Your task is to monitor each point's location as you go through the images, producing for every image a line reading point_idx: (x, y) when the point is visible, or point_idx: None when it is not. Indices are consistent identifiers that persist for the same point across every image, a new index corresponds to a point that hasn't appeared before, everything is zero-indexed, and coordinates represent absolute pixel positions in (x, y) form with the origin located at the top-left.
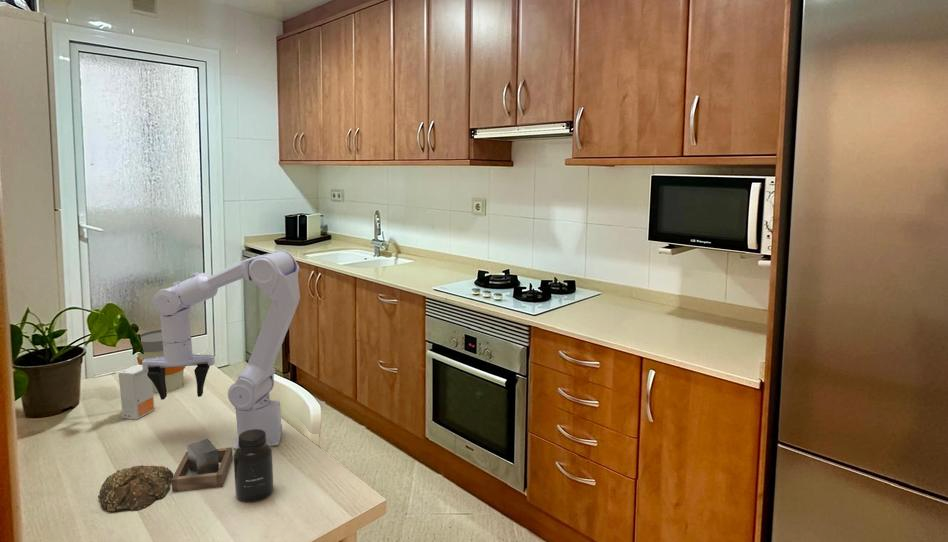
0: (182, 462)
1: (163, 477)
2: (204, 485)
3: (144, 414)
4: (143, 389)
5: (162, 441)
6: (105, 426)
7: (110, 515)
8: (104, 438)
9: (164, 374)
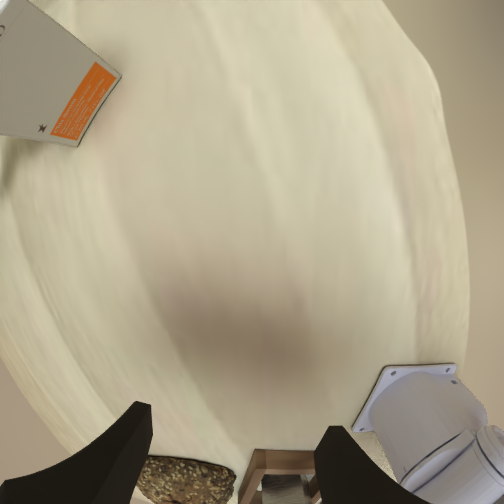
0: (251, 488)
1: (222, 493)
2: None
3: (92, 116)
4: (37, 89)
5: (177, 345)
6: (20, 173)
7: None
8: (32, 256)
9: (100, 501)
